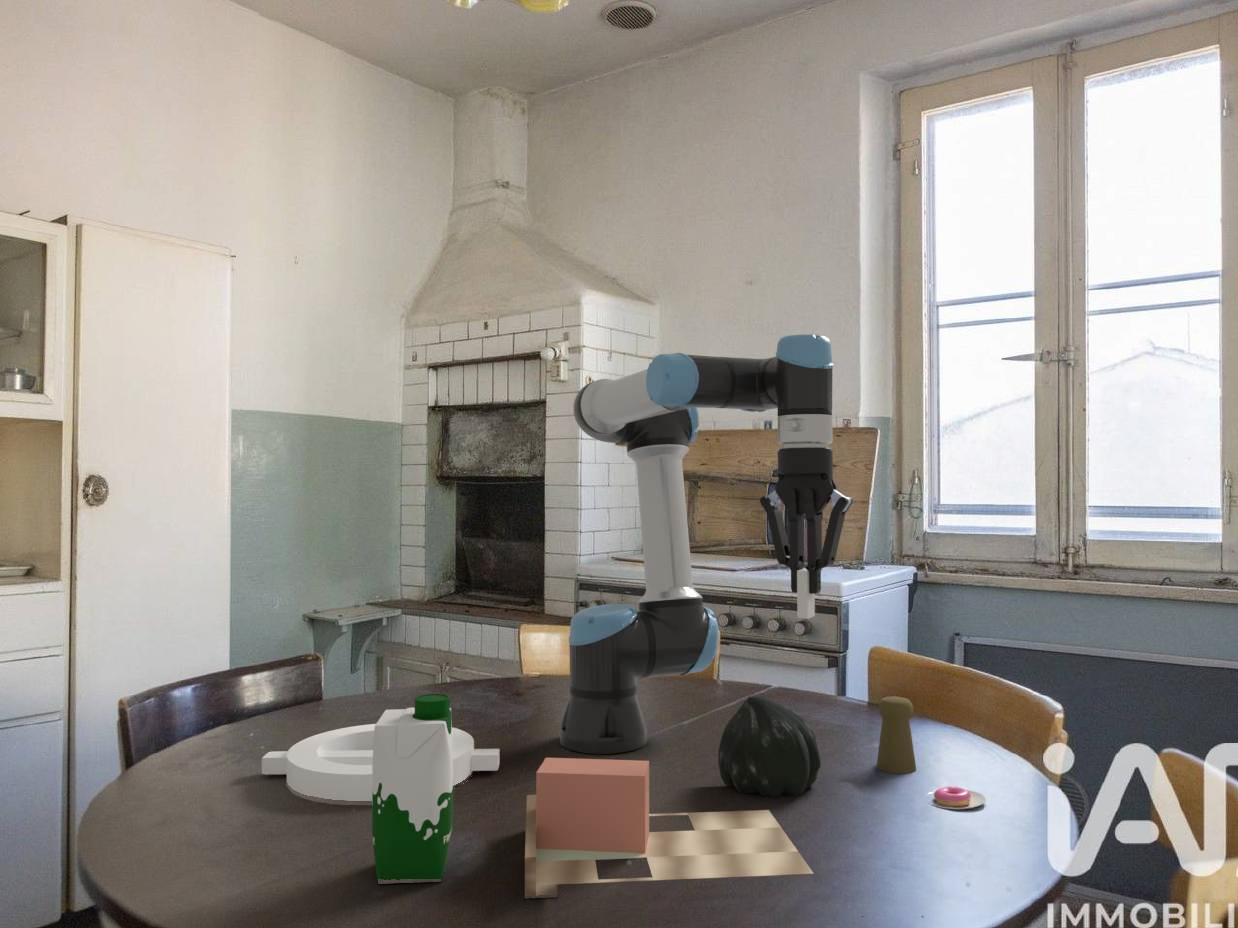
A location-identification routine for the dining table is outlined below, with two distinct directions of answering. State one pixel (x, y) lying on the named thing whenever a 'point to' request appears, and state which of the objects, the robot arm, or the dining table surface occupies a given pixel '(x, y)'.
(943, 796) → the donut
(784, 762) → the squash
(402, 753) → the milk carton
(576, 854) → the pad
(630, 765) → the brick
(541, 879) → the board
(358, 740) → the ring with crossbar
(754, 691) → the dining table surface
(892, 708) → the cork
